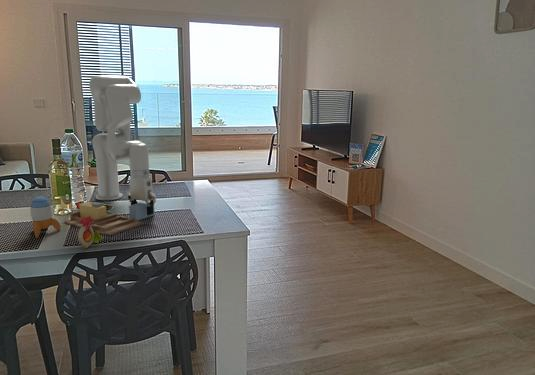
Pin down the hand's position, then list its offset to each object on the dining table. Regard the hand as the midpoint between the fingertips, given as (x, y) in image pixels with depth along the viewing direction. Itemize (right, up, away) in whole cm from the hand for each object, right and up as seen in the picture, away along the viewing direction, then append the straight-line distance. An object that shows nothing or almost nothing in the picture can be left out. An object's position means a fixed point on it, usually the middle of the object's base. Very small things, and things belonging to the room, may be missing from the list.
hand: (142, 212), depth 180 cm
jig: (-13, -4, -9) cm, 16 cm away
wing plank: (0, -2, 0) cm, 2 cm away
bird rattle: (-9, -10, -32) cm, 35 cm away
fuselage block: (-18, -2, -6) cm, 19 cm away
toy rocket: (-32, -6, -19) cm, 38 cm away
